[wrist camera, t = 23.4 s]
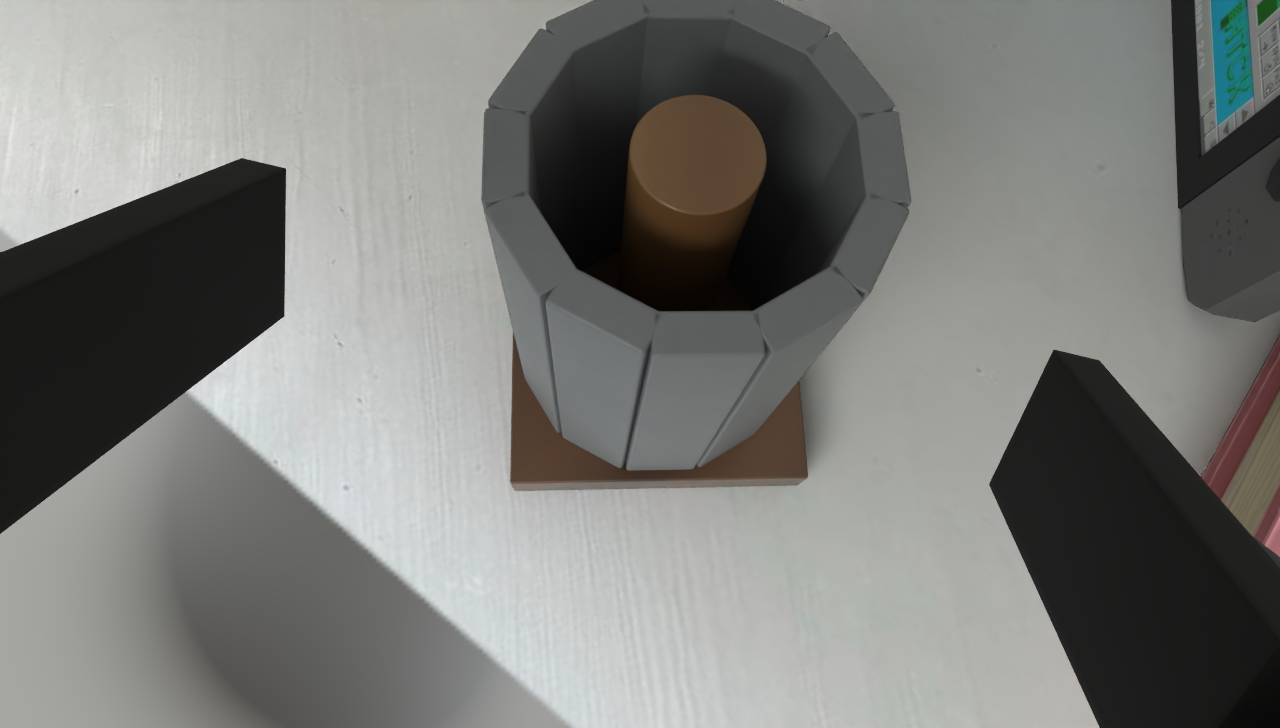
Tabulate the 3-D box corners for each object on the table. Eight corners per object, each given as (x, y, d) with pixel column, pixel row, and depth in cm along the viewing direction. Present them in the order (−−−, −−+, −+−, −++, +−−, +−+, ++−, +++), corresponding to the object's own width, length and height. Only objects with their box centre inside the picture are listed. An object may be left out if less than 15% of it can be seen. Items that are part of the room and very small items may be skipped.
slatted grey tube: (473, 389, 29) (396, 224, 17) (603, 182, 31) (613, -78, 20) (712, 520, 28) (800, 437, 16) (826, 295, 30) (968, 91, 19)
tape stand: (513, 491, 29) (455, 375, 16) (518, 231, 32) (472, -39, 19) (798, 485, 30) (957, 370, 17) (775, 231, 33) (896, -30, 20)
